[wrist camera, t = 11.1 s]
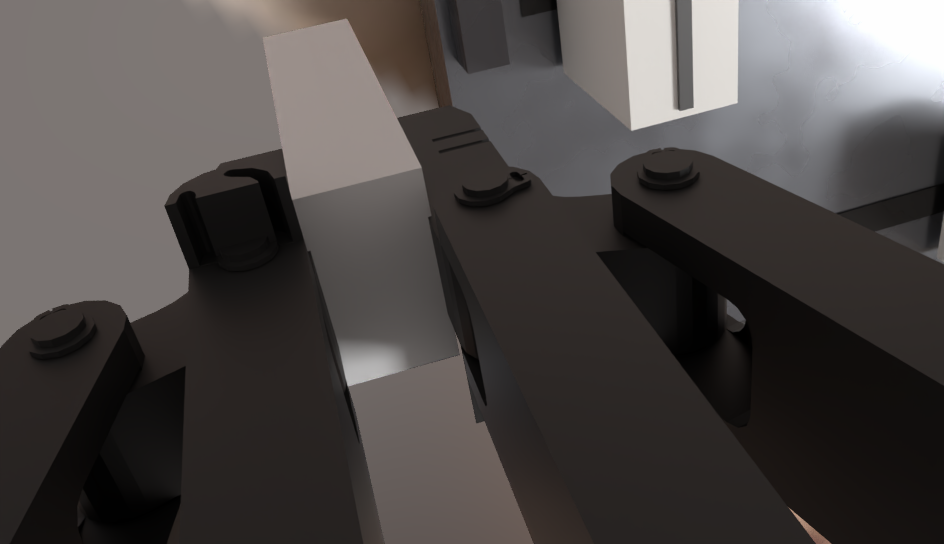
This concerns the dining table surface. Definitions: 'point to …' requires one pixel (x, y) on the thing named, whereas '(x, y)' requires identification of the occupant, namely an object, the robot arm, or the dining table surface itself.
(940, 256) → the fader
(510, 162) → the console
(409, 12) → the dining table surface
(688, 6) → the fader
